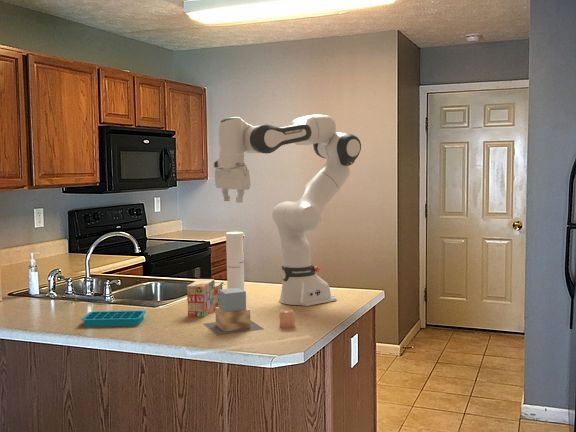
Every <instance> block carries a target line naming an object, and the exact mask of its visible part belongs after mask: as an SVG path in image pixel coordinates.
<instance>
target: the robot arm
mask: <svg viewBox="0 0 576 432" xmlns="http://www.w3.org/2000/svg"><path fill="white" fill-rule="evenodd" d="M290 144H295V145H296V146H312V145H313V146H312V147H313V150H314V152H315V154H316V155H317V157H320V158H322V159H326V161H325V164H324V165H323V167H321V169H319V171H318V172H317V173H315V175H313V177H312V178H311V179H310V180H309V181H308V182H307V183H306V184H305V185H304V191H303V195H302V196H301V197H300V199H298V200H297V201H289V200H288V201H283V202H280V203H278V204H276V205H275V206H274V207H273V209H272V213H271V216H272V221H273V222H274V224H275V225H276V227H277V230H278V235H279V238H280V243H281V250H282V253H281V254H282V265H281V280H282V281H281V282H282V283H281V284H282V285H281V293H280V297H279V303H281V304H286V305H291V306H294V305H295V306H304V307H308V306H309V307H310V306H313V305H318V304H323V303H325V304H326V303H331V302H336V301H337V296H336V295H335V294H332V293H331V289H330V285H329V283H328V282H326V281H325V280H324V279H322V277H320V276H319V275H317V273H320V267H319V266H318V265H317V266H316V265H315V266H314V265H313V264H312V251H311V249H312V248H311V244H310V242H309V241H308V238H307V236H306V233H305V232H311V231H314V230H317V228H319V226H320V225H321V222H322V214H323V211H324V209H325V207H326V206H327V205H328V203H329V202H330V201H331V200H332V199H333V198H334V196H335V195H336V194H337V193H338V192H339V191H340V190H341V188H342V187H343V186H344V184H345V183H346V181H348V178H349V177H350V174H351V169H350V166H351V165H353V164H354V163H355V161H356V160H357V158H358V157H359V155H360V153H361V150H362V143H361V140H360V139H359V137H357V136H356V135H355V134H351V133H345V132H341V131H337V125H336V121H335V120H334V119H333V117H332V116H330V115H326V114H311V115H304V116H300V117H297V118H295V119H293V120H292V121H291V122H290V124H289V125H287V126H281V127H277V126H274V125H272V124H267V123H266V124H261V125H254V126H253V125H252V124H250V123H247V122H246V121H245V120H243V119H242V118H241V116H233V117H226V118H223V119H222V120H220V122H219V125H218V145H219V153H218V159H216V160H215V161H214V162H213V168H214V183H215V184H214V185H215V187H216V189H221V194H222V195H223V196H222V197H223V201H224V202H230V201H231V196H230V195H229V190H236V193H237V197H235V200H236V201H235V203H238V204H239V203H243V198H244V194H245V190H250V187H251V176H250V170H249V169H248V166H247V165H246V163H245V153H247V154H265V155H266V154H268V155H269V154H271V153H274V152H276V151H277V150H278V149H279V148H280V147H282V146H285V145H290ZM316 272H317V273H316Z"/></svg>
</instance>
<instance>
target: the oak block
mask: <svg viewBox="0 0 576 432" xmlns="http://www.w3.org/2000/svg"><path fill="white" fill-rule="evenodd" d="M214 314H215V322H216V325H217V326H218V327H219V328H221V329H222V330H223V331H231V330H238V329H246V328H251V325H250V320H251V310H250V309H249V308H248V307H246V310H239V311H230V312H225V311H224V310H222V309H221V308H219V307H215V312H214Z"/></svg>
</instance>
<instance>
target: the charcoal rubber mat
mask: <svg viewBox="0 0 576 432" xmlns="http://www.w3.org/2000/svg"><path fill="white" fill-rule="evenodd" d="M203 325H204V327H206V328H207V329H208V330H209V331H211V332H212V333H213V334H214V335H216V336H218V337H219V336H225V335H226V336H227V335H233V334H238V333H246V332H254V331H262V330H265V328H264V327H262V326H261V325H259V324H257V323H256V322H254V321H252V320H251V319H250V325H251V328H246V329H238V330H231V331H223V330H222V329H221V328H219V327H218V326H217V325H216V321H215V322H214V321H211V322H207V323H203Z"/></svg>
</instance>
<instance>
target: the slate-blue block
mask: <svg viewBox="0 0 576 432" xmlns="http://www.w3.org/2000/svg"><path fill="white" fill-rule="evenodd" d="M219 308H221V309H222V310H224V311H225V312H230V311H239V310H246V308H247V293H246V291H245V289H244V290H242V289H240V288H231V289H227V288H222V289H221V290H219Z"/></svg>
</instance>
